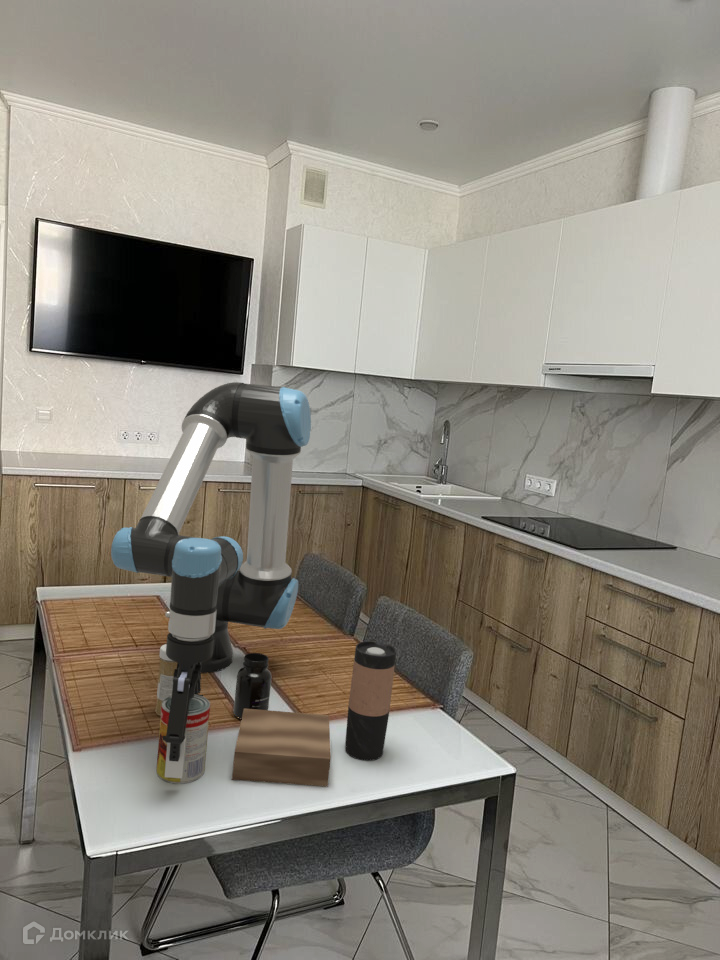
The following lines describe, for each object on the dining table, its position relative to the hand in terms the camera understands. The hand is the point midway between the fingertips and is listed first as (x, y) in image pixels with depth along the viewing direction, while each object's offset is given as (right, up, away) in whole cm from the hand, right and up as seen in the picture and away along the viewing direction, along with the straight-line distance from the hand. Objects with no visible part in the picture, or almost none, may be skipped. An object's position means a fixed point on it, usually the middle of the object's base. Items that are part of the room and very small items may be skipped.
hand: (180, 756), depth 125 cm
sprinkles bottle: (-7, +1, +20) cm, 21 cm away
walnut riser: (+16, -3, +7) cm, 18 cm away
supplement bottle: (+8, 0, +23) cm, 24 cm away
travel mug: (+31, -4, +14) cm, 34 cm away
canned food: (0, -3, 0) cm, 3 cm away
